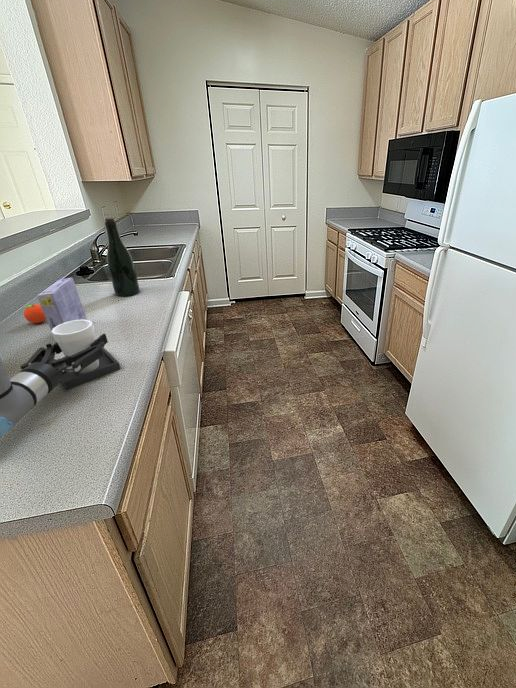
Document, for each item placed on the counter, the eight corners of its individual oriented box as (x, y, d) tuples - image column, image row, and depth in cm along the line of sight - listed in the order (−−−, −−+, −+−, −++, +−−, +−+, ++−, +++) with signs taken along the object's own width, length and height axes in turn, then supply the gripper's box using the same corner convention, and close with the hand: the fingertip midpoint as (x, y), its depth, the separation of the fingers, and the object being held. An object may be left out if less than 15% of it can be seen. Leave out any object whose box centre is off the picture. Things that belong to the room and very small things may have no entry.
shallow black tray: (53, 369, 95) (51, 363, 94) (104, 352, 104) (102, 346, 103) (66, 389, 87) (63, 382, 86) (120, 368, 95) (118, 362, 95)
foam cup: (109, 357, 100) (97, 318, 94) (98, 374, 92) (84, 332, 86) (75, 360, 98) (61, 321, 93) (60, 378, 90) (44, 336, 85)
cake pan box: (75, 322, 124) (59, 277, 116) (90, 321, 125) (75, 275, 117) (55, 346, 107) (35, 295, 99) (72, 344, 108) (54, 294, 101)
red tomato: (21, 328, 120) (14, 310, 117) (27, 320, 126) (20, 303, 123) (47, 324, 123) (40, 306, 120) (52, 317, 128) (45, 300, 125)
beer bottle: (144, 292, 153) (127, 217, 138) (121, 298, 146) (101, 220, 131) (134, 287, 159) (116, 215, 144) (111, 293, 152) (90, 218, 137)
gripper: (-9, 397, 77) (54, 349, 97) (85, 396, 78) (129, 348, 98) (-23, 371, 74) (45, 326, 94) (76, 369, 74) (122, 326, 94)
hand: (88, 338), depth 96 cm, fingers closed on foam cup, 9 cm apart
